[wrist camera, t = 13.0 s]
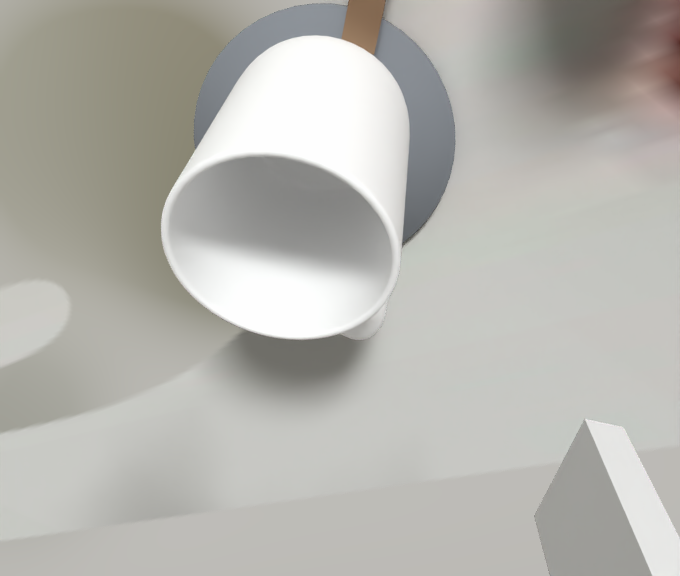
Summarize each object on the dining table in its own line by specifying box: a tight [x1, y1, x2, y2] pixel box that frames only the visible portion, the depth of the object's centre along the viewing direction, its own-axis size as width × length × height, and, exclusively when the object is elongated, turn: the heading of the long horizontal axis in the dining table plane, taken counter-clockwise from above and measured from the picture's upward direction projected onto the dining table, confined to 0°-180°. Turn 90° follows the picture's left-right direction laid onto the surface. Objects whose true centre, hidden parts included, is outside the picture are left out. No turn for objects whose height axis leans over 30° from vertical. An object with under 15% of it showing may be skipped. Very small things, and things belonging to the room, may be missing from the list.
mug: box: [161, 35, 410, 340], centre depth 25 cm, size 12×8×10 cm
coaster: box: [194, 4, 455, 243], centre depth 30 cm, size 13×13×1 cm
